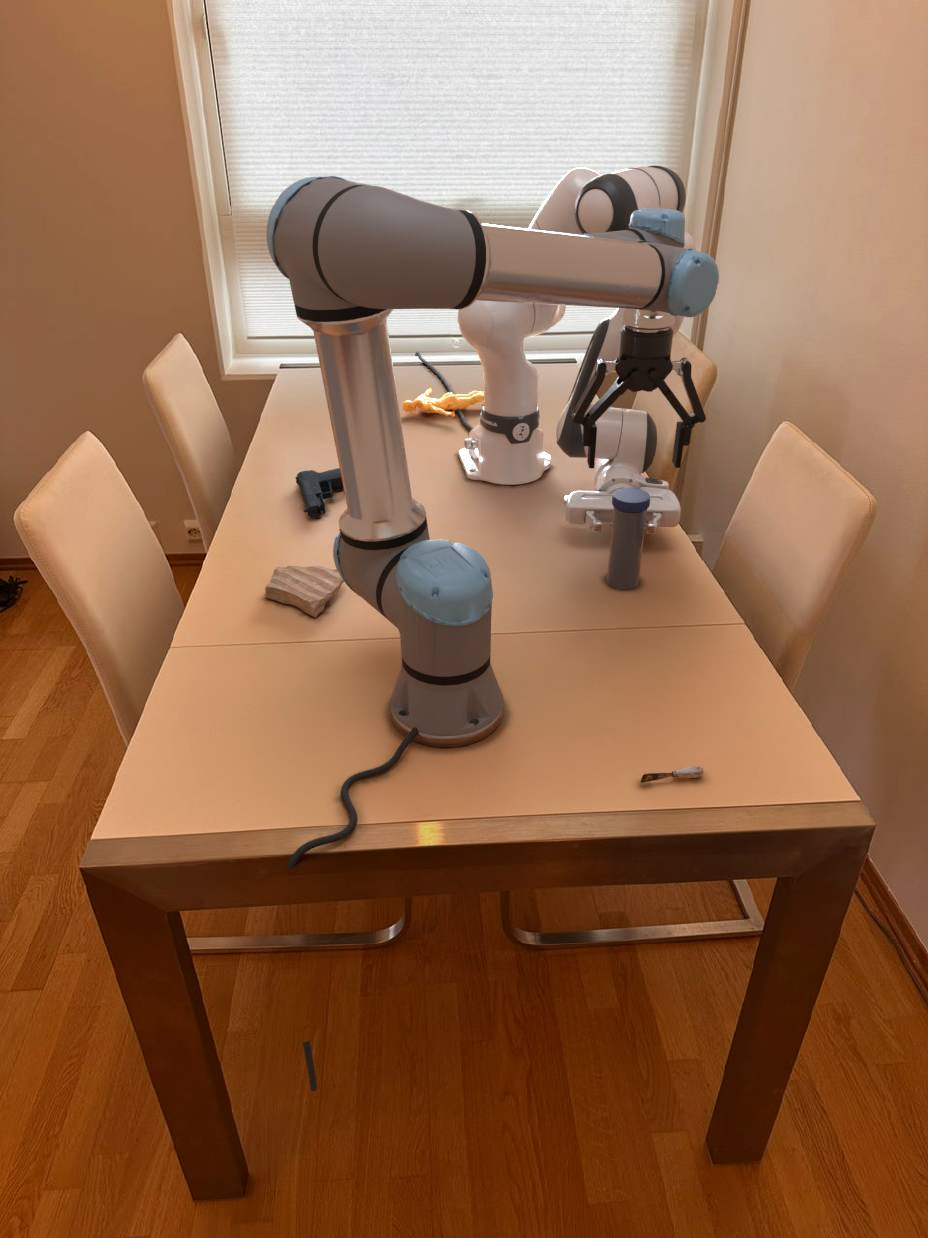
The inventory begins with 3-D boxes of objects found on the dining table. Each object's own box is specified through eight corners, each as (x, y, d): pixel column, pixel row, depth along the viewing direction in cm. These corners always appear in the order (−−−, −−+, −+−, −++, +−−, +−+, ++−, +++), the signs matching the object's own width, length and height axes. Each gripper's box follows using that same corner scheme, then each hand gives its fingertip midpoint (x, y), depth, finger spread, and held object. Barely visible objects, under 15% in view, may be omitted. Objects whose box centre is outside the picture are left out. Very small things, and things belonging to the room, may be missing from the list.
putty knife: (703, 777, 109) (705, 767, 109) (642, 788, 108) (644, 777, 107) (700, 772, 110) (702, 762, 109) (639, 782, 109) (640, 771, 108)
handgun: (366, 513, 175) (304, 520, 172) (351, 478, 189) (294, 484, 186) (365, 498, 173) (303, 505, 170) (350, 463, 187) (293, 470, 184)
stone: (354, 583, 150) (352, 570, 149) (317, 618, 141) (316, 605, 140) (288, 570, 155) (286, 557, 153) (249, 603, 145) (246, 590, 144)
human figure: (395, 413, 223) (394, 398, 221) (438, 390, 237) (438, 375, 235) (462, 429, 215) (462, 413, 213) (502, 404, 229) (503, 388, 227)
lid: (656, 503, 144) (657, 494, 143) (637, 516, 140) (638, 506, 139) (624, 494, 147) (625, 484, 146) (604, 505, 143) (605, 496, 142)
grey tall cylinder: (644, 580, 151) (654, 496, 143) (627, 592, 148) (637, 507, 140) (617, 570, 154) (625, 488, 146) (600, 582, 151) (608, 498, 143)
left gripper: (564, 333, 126) (556, 474, 137) (740, 332, 126) (718, 473, 137) (559, 320, 132) (552, 456, 143) (726, 319, 132) (706, 455, 143)
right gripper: (564, 478, 164) (564, 510, 152) (676, 481, 163) (686, 513, 151) (562, 509, 167) (562, 543, 156) (672, 512, 166) (681, 547, 154)
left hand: (633, 465), depth 140 cm, fingers open, 13 cm apart
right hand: (624, 528), depth 153 cm, fingers open, 8 cm apart
